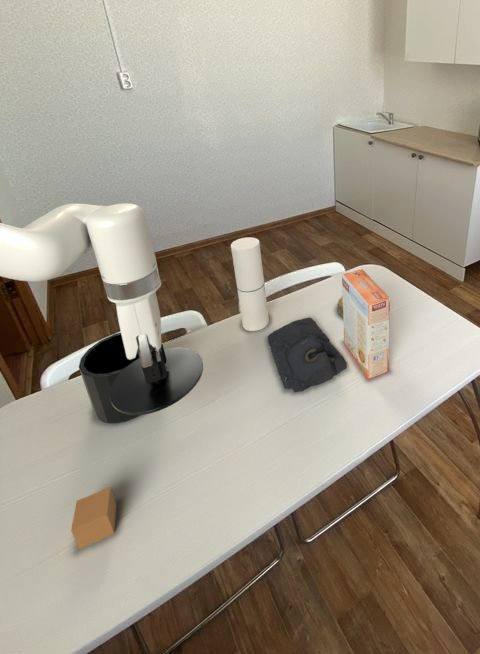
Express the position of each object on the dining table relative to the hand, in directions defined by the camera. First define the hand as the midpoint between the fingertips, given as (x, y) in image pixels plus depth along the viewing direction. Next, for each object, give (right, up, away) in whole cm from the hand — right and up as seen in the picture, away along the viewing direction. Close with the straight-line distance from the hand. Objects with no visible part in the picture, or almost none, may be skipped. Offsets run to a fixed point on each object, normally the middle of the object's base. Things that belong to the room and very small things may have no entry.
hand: (156, 371), depth 66 cm
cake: (+34, -3, +46) cm, 57 cm away
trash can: (-15, -14, +18) cm, 27 cm away
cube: (-6, -22, -5) cm, 24 cm away
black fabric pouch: (+22, -9, +30) cm, 38 cm away
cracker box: (+37, -9, +28) cm, 47 cm away
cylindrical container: (+6, -5, +41) cm, 42 cm away
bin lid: (0, -2, +1) cm, 2 cm away
